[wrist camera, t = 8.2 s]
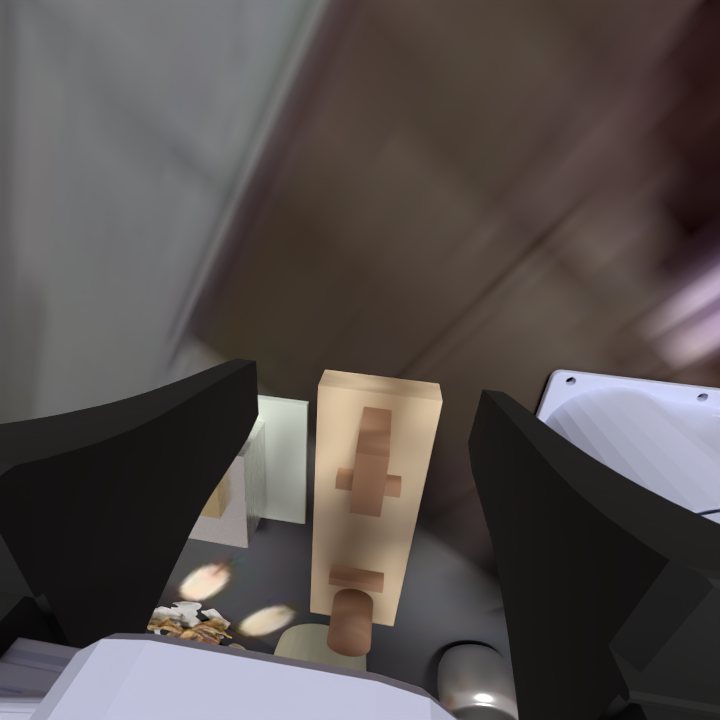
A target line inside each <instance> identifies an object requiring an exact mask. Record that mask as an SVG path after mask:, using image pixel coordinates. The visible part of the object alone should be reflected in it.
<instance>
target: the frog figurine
mask: <svg viewBox="0 0 720 720" xmlns="http://www.w3.org/2000/svg"><path fill="white" fill-rule="evenodd" d="M172 604H176V605H177V606H178V608H173V607H171V609H169V608H165V607H162V606H161V607H159V608H157V609H156V608H155V610H154V612H153V615H152V617H151V619H150V622H149V624H148V626H147V627H148V630H154V631H155V634H159V635H160V630H161V629H165V630H169V631H171V632H170V633H168V634H167V636H170V637H176V638H181V639H187V640H193V641H198V642H204V643H209V644H215V645H219V643H220V641H221V639H222V638H224V637H223V635H225V636H226V637H228V638H232V637H231V636H229V635H227V634H226V633H225V631H224V630H226V629H228V626H229V625H230V623H229V622H228V621H226V620H225V619H223V618H222V617H221V615H220V614H219V613H218V612H217V611H216V610H215V609H210V610H207V611H201V612H202V613H203V614H205V615H206V616H207V617H208V618H209V619H210V620H209V621H205V622H201V621H200V620H199V619H197V618H196V617H195V616H196V615H197V612H196V610H198V609H199V608H200V607H201V604H199V603H193V602H187V601H185V602H175V603H172ZM174 622H177V624H175V623H174ZM220 634H223V635H220ZM228 647H232V648H237V649H243V650H245V648H243V647H242V646H240V645H238V644H230V645H228Z"/></svg>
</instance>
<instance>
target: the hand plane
mask: <svg viewBox="0 0 720 720" xmlns="http://www.w3.org/2000/svg"><path fill="white" fill-rule="evenodd" d="M441 406H442V396H441V391H440V386H439V384H437V383H429V382H421V381H413V380H405V379H397V378H389V377H381V376H373V375H365V374H357V373H349V372H341V371H333V370H325V371H324V374H323V376H322V378H321V380H320V383H319V385H318V406H317V434H316V462H315V490H314V518H313V546H312V574H311V602H310V612H312V613H318V614H324V615H330V616H331V618H330V624H329V630H328V636H327V645H328V646H329V648H330V649H331V650H333V651H334V652H336V653H338V654H340V655H344V656H349V657H359V656H363V655H365V654H367V653H368V652H369V651H370V646H371V631H372V623H377V624H383V625H389V626H393V625H394V620H395V616H396V611H397V606H398V602H399V597H400V593H401V588H402V584H403V579H404V575H405V570H406V565H407V561H408V556H409V552H410V547H411V543H412V538H413V534H414V529H415V524H416V520H417V515H418V511H419V506H420V502H421V497H422V493H423V488H424V483H425V479H426V474H427V470H428V465H429V461H430V456H431V452H432V447H433V442H434V438H435V433H436V429H437V424H438V420H439V415H440V411H441Z"/></svg>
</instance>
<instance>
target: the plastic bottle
mask: <svg viewBox="0 0 720 720" xmlns="http://www.w3.org/2000/svg"><path fill="white" fill-rule="evenodd" d="M437 688H438V695H439V701H440V703H441V704H443V705H444V706H445V707H447V708H448V709H449V710H450V711H451V712H452V713H453V714H454V715H455V717H456V718H460V719H465V720H519V719H518V710H517V701H516V692H515V682H514V679H513V677H512V674H511V671H510V668H509V666H508V664H507V663H506V662H505V660H504V659H503V658H502V657H501V655H500V654H499V653H498V652H496V651H495V650H493V649H491V648H489V647H486V646H482V645H475V644H465V645H459V646H455V647H452V648H450V649H449V650H447V651H446V652H445V653H444V655H443V657H442V659H441V661H440V663H439V666H438V679H437Z"/></svg>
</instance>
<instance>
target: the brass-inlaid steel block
mask: <svg viewBox="0 0 720 720" xmlns="http://www.w3.org/2000/svg"><path fill="white" fill-rule="evenodd" d="M265 508H266V471H265V421H259V420H256V422H255V424H254V426H253V428H252V431H251V433H250V435H249V437H248V439H247V441H246V442H245V444H244V445H243V447H242V449H241V450H240V452H239V453H238V455H237V456H236V458H235V460H234V461H233V463H232V464H231V466H230V467H229V469H228V470H227V472H226V473H225V475H224V476H223V478H222V479H221V481H220V482H219V484H218V486H217V487H216V489H215V490H214V492H213V493H212V495H211V496H210V498H209V500H208V501H207V503H206V505H205V506H204V508H203V510H202V512H201V514H200V516H199V518H198V520H197V522H196V524H195V526H194V527H193V529H192V531H191V533H190V535H189V537H188V538H193V539H198V540H204V541H210V542H215V543H221V544H227V545H233V546H238V547H244V548H248V547H249V544H250V542H251V540H252V538H253V535H254V533H255V531H256V528H257V526H258V524H259V522H260V519H261V517H262V515H263V513H264V510H265Z"/></svg>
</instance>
